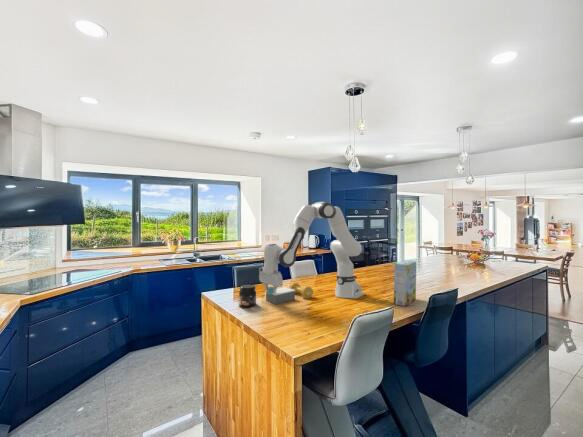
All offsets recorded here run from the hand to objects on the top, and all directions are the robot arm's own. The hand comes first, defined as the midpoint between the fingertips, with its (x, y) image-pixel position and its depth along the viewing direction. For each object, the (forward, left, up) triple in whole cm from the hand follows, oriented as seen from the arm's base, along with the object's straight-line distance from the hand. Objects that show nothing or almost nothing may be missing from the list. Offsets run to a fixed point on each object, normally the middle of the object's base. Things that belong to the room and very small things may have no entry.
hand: (270, 291), depth 182 cm
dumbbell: (-26, 0, -8) cm, 27 cm away
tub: (-8, 0, -7) cm, 11 cm away
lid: (-8, 0, -1) cm, 8 cm away
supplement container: (+14, -5, -8) cm, 17 cm away
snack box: (-67, +55, -8) cm, 87 cm away
